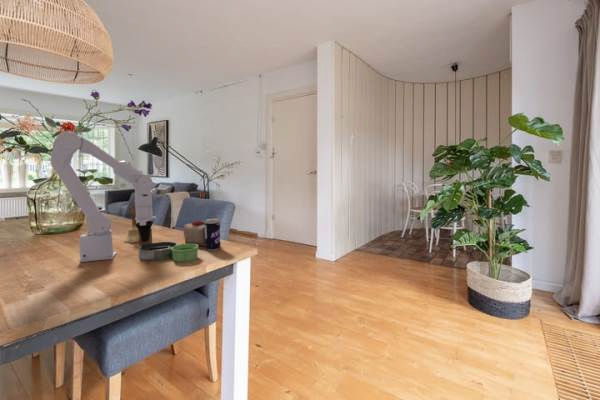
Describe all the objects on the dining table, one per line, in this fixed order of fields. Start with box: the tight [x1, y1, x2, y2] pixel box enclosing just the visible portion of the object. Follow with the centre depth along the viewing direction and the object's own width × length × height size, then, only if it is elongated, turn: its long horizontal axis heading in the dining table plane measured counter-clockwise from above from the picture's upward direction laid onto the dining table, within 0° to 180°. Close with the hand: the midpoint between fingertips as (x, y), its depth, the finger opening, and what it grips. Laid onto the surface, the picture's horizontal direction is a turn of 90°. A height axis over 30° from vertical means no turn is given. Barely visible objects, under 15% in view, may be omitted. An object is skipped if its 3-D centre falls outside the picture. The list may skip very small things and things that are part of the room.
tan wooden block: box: [138, 228, 153, 248], centre depth 113 cm, size 4×2×6 cm, turn 114°
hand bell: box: [124, 204, 139, 244], centre depth 129 cm, size 8×8×16 cm
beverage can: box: [204, 217, 221, 252], centre depth 114 cm, size 6×6×12 cm
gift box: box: [183, 220, 205, 247], centre depth 124 cm, size 14×8×10 cm, turn 61°
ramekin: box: [171, 243, 199, 263], centre depth 103 cm, size 9×9×4 cm
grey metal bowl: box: [138, 240, 179, 262], centre depth 107 cm, size 13×13×4 cm
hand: (145, 240), depth 113 cm, fingers closed on tan wooden block, 2 cm apart
